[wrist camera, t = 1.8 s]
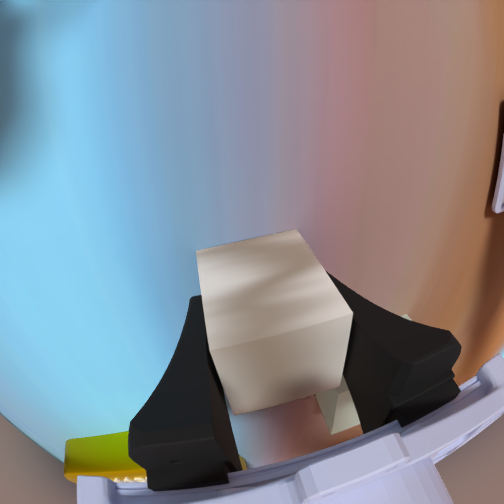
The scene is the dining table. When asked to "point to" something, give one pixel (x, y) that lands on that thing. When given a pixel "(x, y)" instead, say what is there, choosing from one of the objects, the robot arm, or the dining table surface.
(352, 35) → the dining table surface
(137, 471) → the element tile
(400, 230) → the dining table surface
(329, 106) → the dining table surface
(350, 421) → the sage base block
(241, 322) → the ash block
